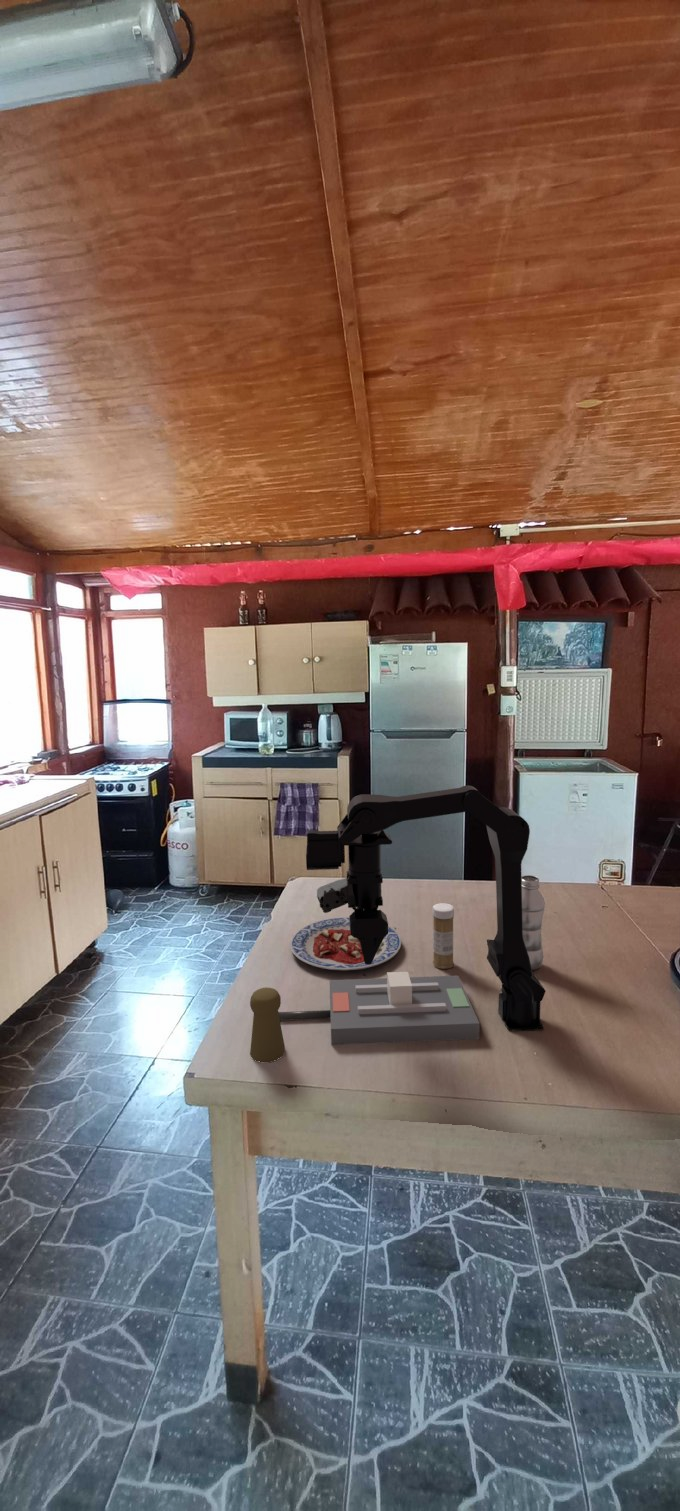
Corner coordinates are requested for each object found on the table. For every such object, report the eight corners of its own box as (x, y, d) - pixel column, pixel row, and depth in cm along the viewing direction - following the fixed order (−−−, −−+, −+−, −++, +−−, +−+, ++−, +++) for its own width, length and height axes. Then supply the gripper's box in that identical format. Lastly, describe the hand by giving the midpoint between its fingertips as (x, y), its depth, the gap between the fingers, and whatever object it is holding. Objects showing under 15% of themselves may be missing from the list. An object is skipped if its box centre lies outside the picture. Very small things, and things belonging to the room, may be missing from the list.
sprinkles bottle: (451, 959, 131) (451, 902, 129) (455, 969, 127) (456, 910, 125) (430, 959, 131) (430, 902, 129) (434, 970, 127) (434, 911, 125)
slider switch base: (458, 989, 119) (458, 970, 118) (479, 1038, 103) (479, 1018, 103) (280, 995, 118) (279, 977, 117) (273, 1047, 102) (273, 1025, 102)
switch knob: (407, 991, 113) (407, 971, 112) (411, 1006, 108) (411, 985, 107) (387, 991, 113) (387, 972, 112) (390, 1006, 108) (390, 986, 107)
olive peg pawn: (268, 1035, 105) (265, 978, 104) (292, 1049, 102) (290, 990, 100) (242, 1053, 101) (239, 993, 99) (267, 1067, 97) (264, 1006, 95)
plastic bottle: (506, 967, 127) (508, 879, 124) (520, 955, 132) (522, 870, 129) (534, 977, 123) (537, 886, 120) (548, 965, 128) (551, 877, 125)
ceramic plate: (273, 970, 128) (273, 957, 128) (310, 921, 153) (310, 910, 153) (389, 985, 122) (389, 971, 121) (409, 931, 146) (409, 919, 146)
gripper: (319, 852, 112) (321, 929, 114) (318, 889, 94) (321, 980, 96) (377, 850, 112) (378, 927, 115) (388, 886, 94) (389, 977, 96)
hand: (366, 950), depth 105 cm, fingers open, 9 cm apart
